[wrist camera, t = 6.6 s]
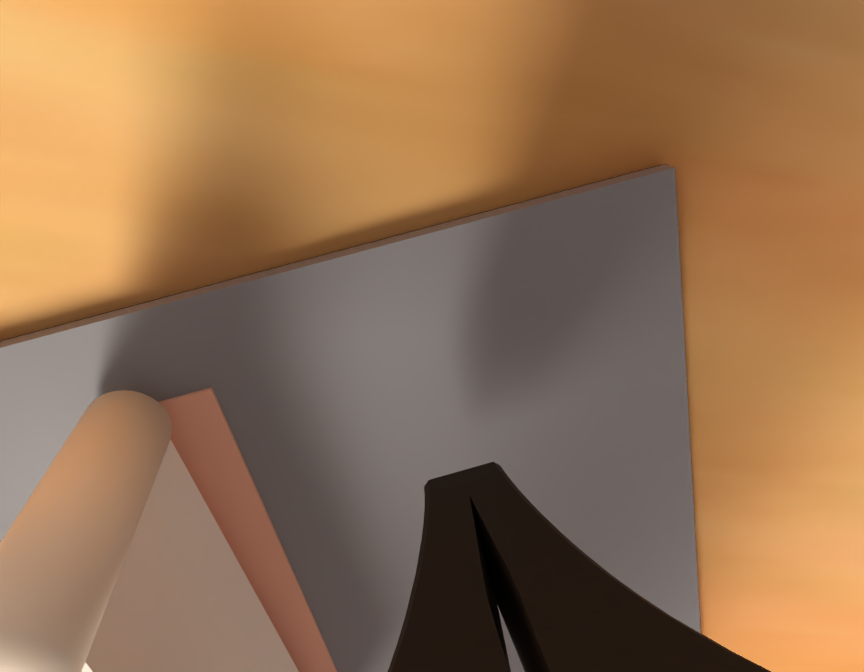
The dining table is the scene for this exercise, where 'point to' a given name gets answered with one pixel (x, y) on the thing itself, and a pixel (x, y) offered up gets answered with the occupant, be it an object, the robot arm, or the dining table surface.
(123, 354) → the card
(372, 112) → the dining table surface
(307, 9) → the dining table surface
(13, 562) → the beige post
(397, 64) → the dining table surface
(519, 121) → the dining table surface
